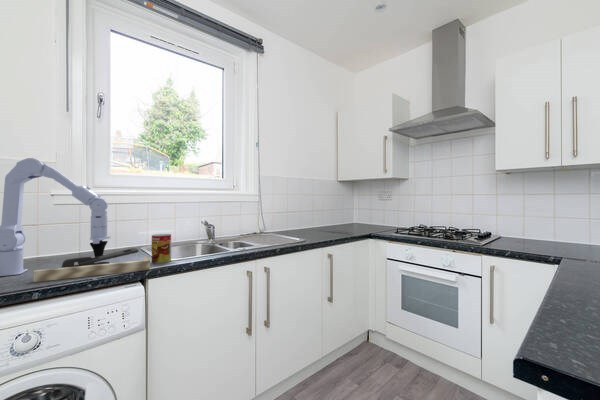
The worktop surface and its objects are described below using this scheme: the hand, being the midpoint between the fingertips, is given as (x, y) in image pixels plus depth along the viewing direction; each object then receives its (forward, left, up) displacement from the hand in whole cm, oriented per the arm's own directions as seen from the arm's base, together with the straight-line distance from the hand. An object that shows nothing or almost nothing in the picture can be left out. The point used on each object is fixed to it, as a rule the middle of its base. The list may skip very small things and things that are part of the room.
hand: (98, 258), depth 116 cm
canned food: (+24, -5, -3) cm, 24 cm away
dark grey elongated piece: (+2, -8, -3) cm, 9 cm away
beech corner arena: (+2, -14, -3) cm, 14 cm away
